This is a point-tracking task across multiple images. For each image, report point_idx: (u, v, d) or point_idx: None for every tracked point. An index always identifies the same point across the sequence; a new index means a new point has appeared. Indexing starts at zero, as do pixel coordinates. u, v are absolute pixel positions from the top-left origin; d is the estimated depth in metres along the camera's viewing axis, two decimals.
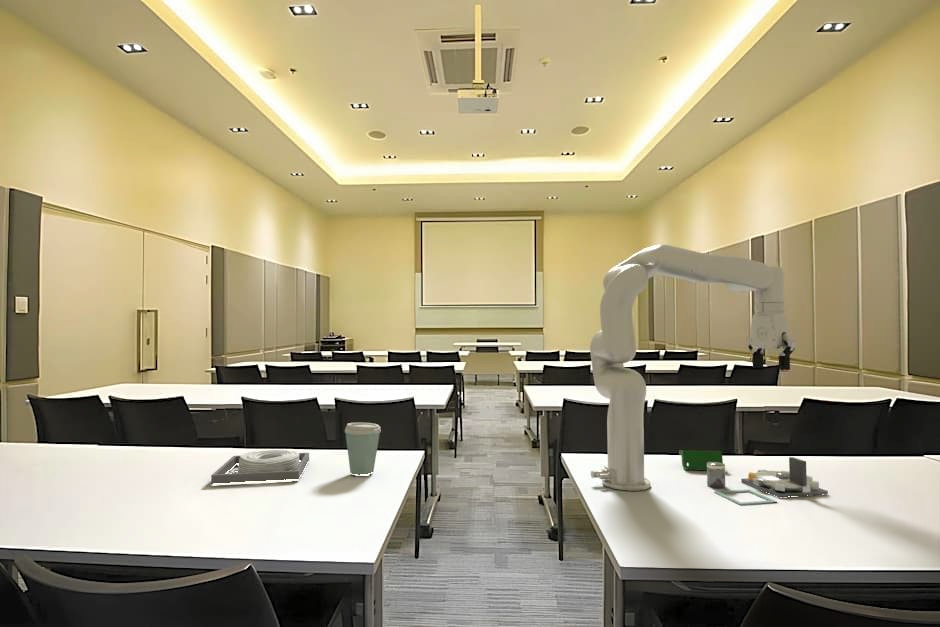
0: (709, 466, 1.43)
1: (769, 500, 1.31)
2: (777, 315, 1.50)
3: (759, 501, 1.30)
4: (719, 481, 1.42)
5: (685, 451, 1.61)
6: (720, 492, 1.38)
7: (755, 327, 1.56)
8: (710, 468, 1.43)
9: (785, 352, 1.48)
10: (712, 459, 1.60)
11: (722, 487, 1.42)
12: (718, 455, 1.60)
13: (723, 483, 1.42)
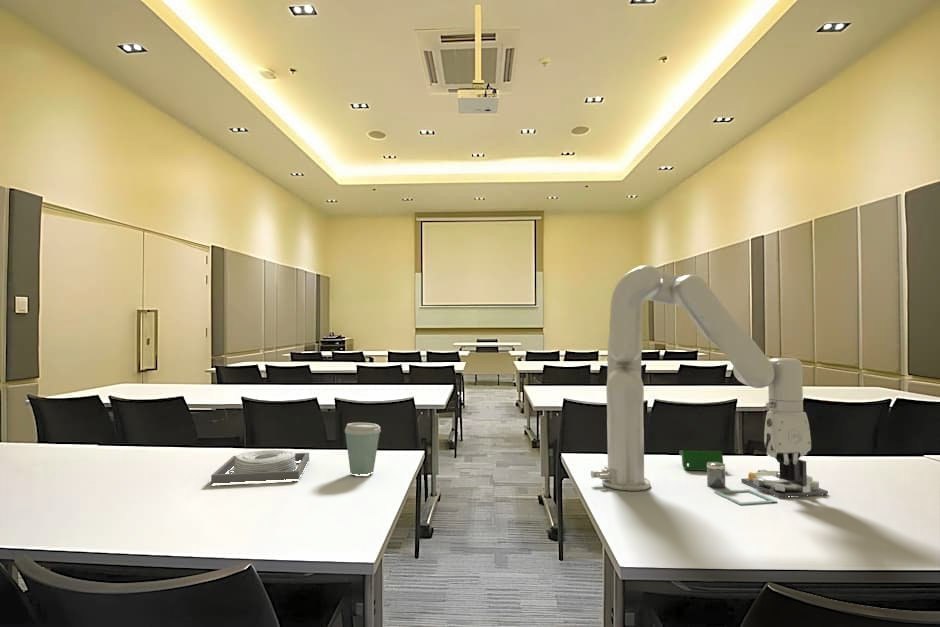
0: (709, 466, 1.43)
1: (769, 500, 1.31)
2: None
3: (759, 501, 1.30)
4: (719, 481, 1.42)
5: (685, 451, 1.61)
6: (720, 492, 1.38)
7: (786, 429, 1.33)
8: (710, 468, 1.43)
9: None
10: (712, 460, 1.59)
11: (722, 487, 1.42)
12: (718, 455, 1.59)
13: (723, 483, 1.42)
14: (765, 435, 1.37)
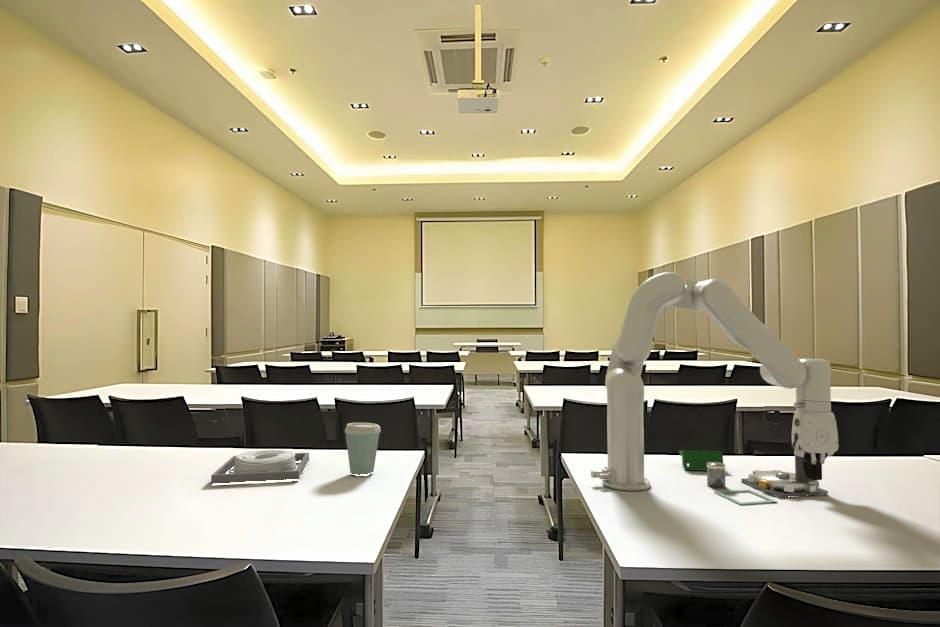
0: (709, 466, 1.43)
1: (769, 500, 1.31)
2: None
3: (759, 501, 1.30)
4: (719, 481, 1.42)
5: (685, 451, 1.61)
6: (720, 492, 1.38)
7: (814, 429, 1.34)
8: (710, 468, 1.43)
9: None
10: (712, 460, 1.59)
11: (722, 487, 1.42)
12: (718, 455, 1.59)
13: (723, 483, 1.42)
14: (792, 435, 1.38)
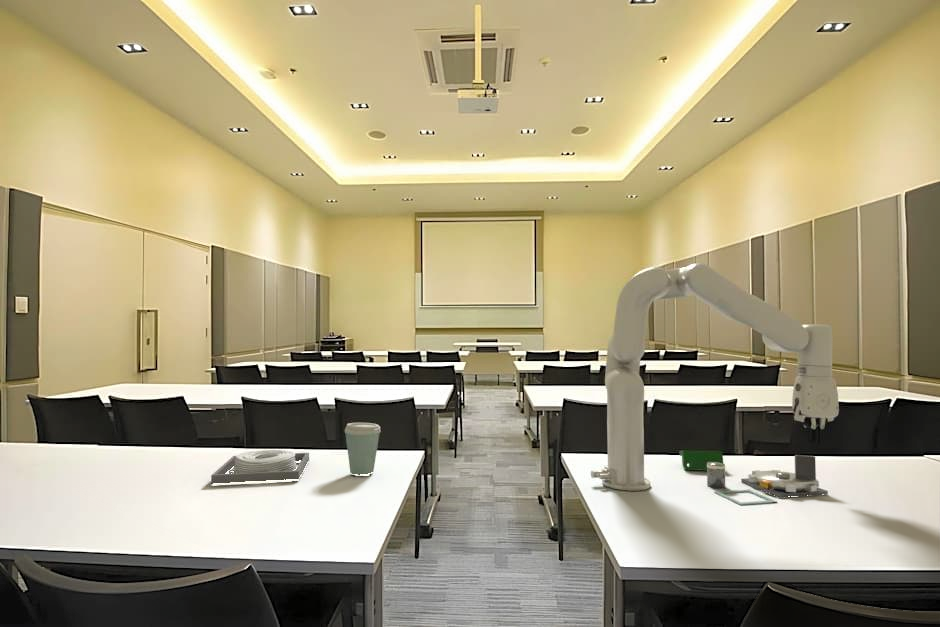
0: (709, 466, 1.43)
1: (769, 500, 1.31)
2: None
3: (759, 501, 1.30)
4: (719, 481, 1.42)
5: (685, 452, 1.61)
6: (720, 492, 1.38)
7: (815, 394, 1.35)
8: (710, 468, 1.43)
9: None
10: (713, 460, 1.59)
11: (722, 487, 1.42)
12: (719, 456, 1.59)
13: (723, 483, 1.42)
14: (793, 400, 1.38)
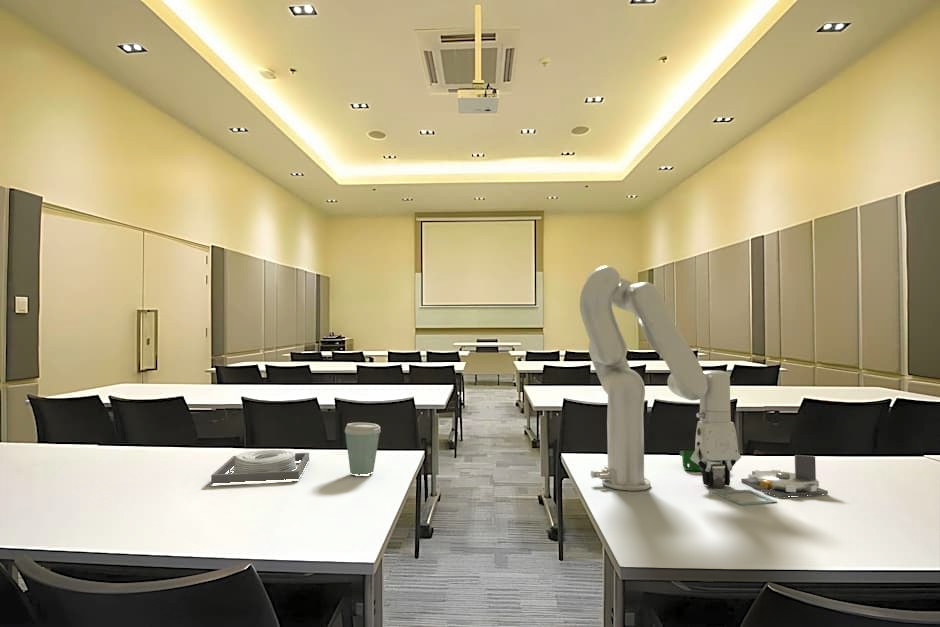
0: None
1: (769, 500, 1.31)
2: None
3: (759, 501, 1.30)
4: (719, 481, 1.42)
5: (686, 452, 1.60)
6: (720, 492, 1.38)
7: (714, 438, 1.41)
8: (710, 468, 1.43)
9: None
10: None
11: (722, 487, 1.42)
12: None
13: (723, 483, 1.42)
14: (696, 443, 1.45)
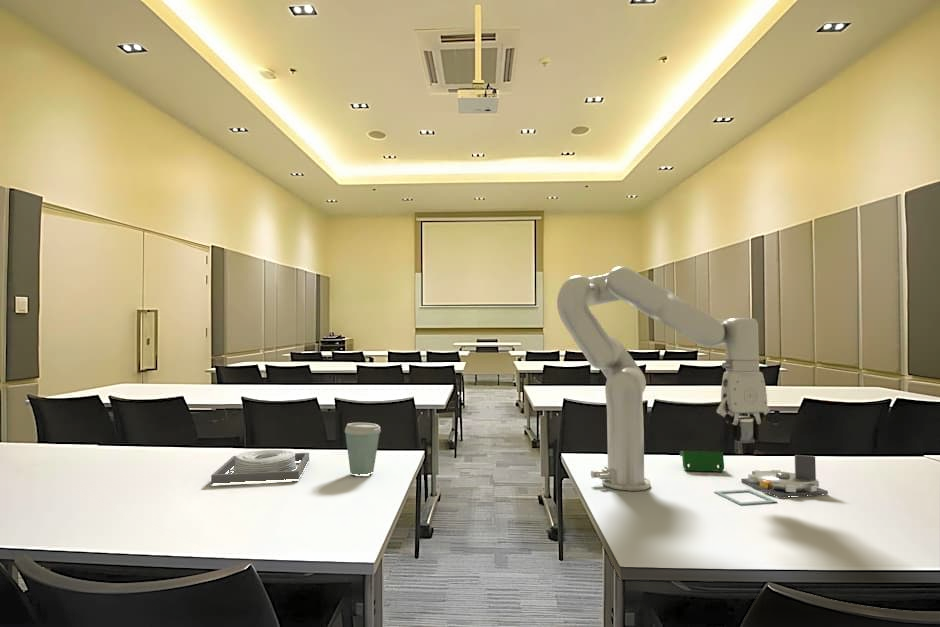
0: None
1: (769, 500, 1.31)
2: None
3: (759, 501, 1.30)
4: (747, 435, 1.32)
5: (686, 452, 1.60)
6: (720, 492, 1.38)
7: (742, 389, 1.32)
8: None
9: None
10: (713, 460, 1.58)
11: (751, 441, 1.33)
12: (719, 456, 1.59)
13: (752, 437, 1.33)
14: (722, 396, 1.35)
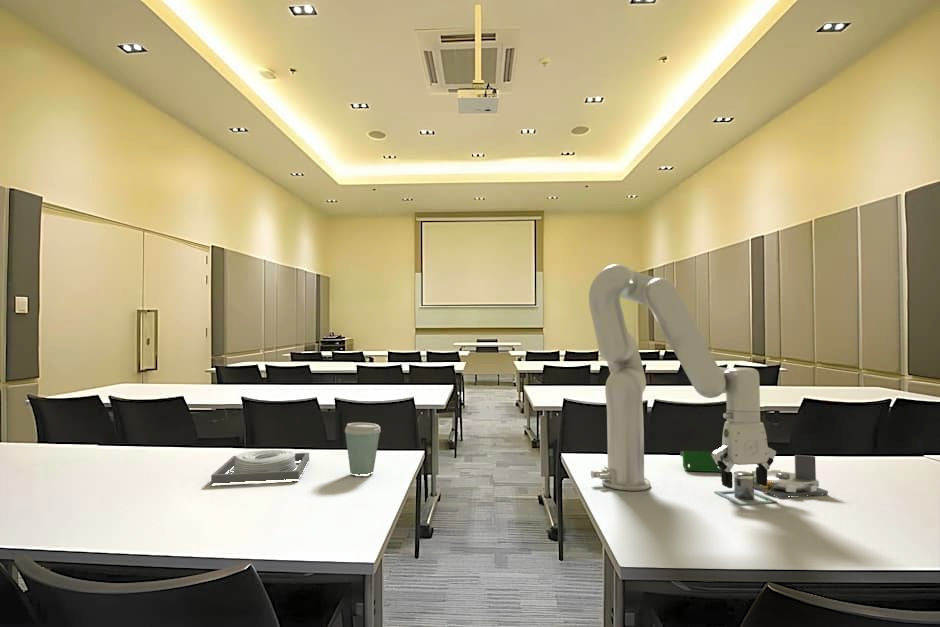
0: (737, 476, 1.34)
1: (769, 500, 1.31)
2: None
3: (759, 501, 1.30)
4: (748, 492, 1.32)
5: (686, 452, 1.60)
6: (720, 492, 1.38)
7: (742, 440, 1.32)
8: (738, 478, 1.34)
9: None
10: (713, 461, 1.58)
11: (751, 499, 1.32)
12: None
13: (752, 494, 1.32)
14: (722, 446, 1.35)
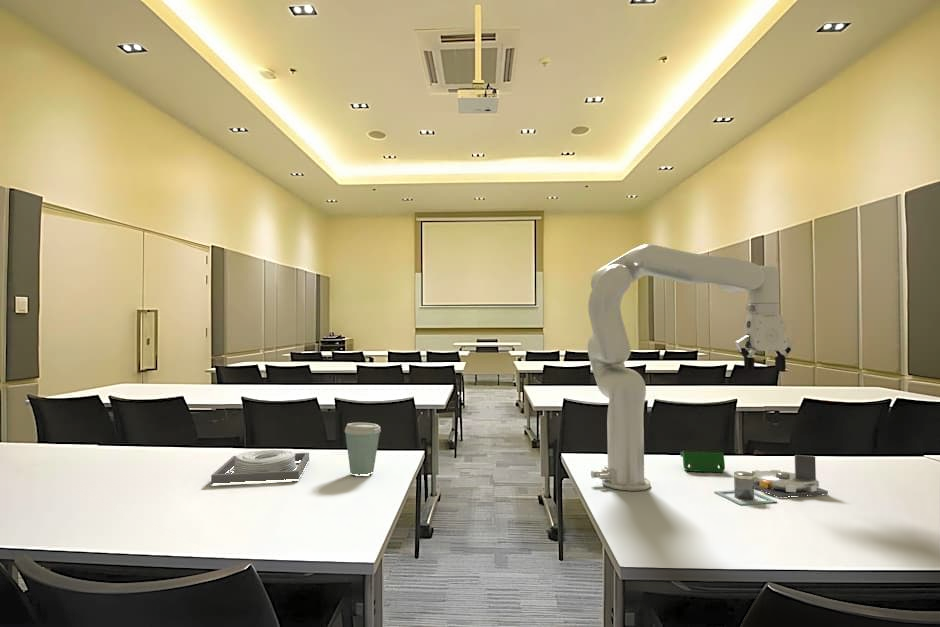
0: (737, 476, 1.34)
1: (769, 500, 1.31)
2: None
3: (759, 501, 1.30)
4: (748, 492, 1.32)
5: (686, 452, 1.60)
6: (720, 492, 1.38)
7: (764, 329, 1.47)
8: (738, 478, 1.34)
9: None
10: (714, 461, 1.58)
11: (751, 499, 1.32)
12: (720, 456, 1.58)
13: (752, 494, 1.32)
14: (745, 336, 1.50)
